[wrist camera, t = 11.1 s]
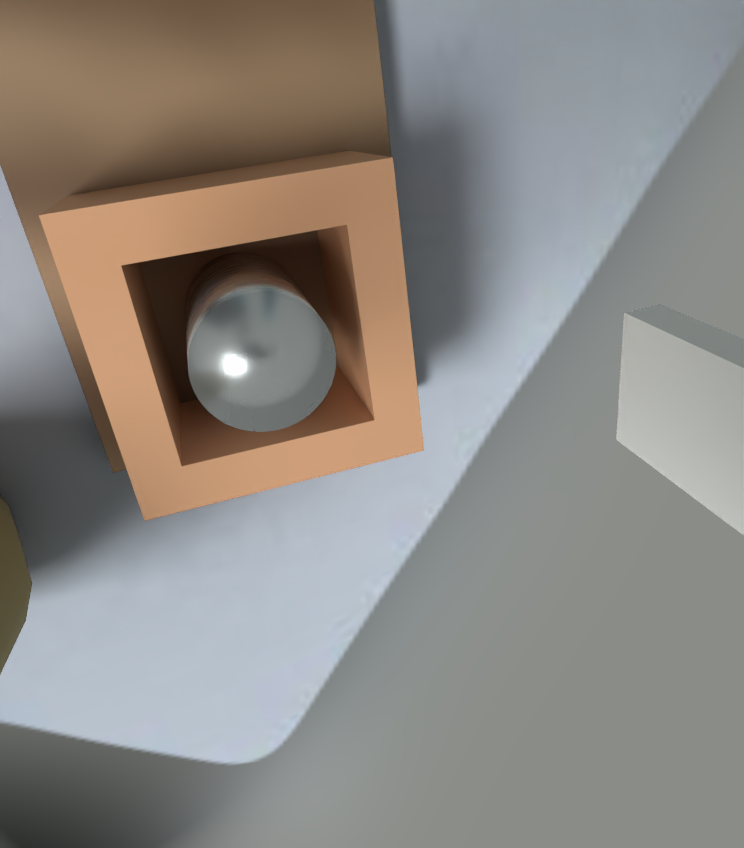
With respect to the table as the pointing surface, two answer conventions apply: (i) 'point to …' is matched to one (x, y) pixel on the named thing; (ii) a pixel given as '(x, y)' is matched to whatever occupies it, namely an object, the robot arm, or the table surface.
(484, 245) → the table surface
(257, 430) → the post
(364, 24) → the board
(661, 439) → the robot arm
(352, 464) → the collar
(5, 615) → the squeeze bottle
